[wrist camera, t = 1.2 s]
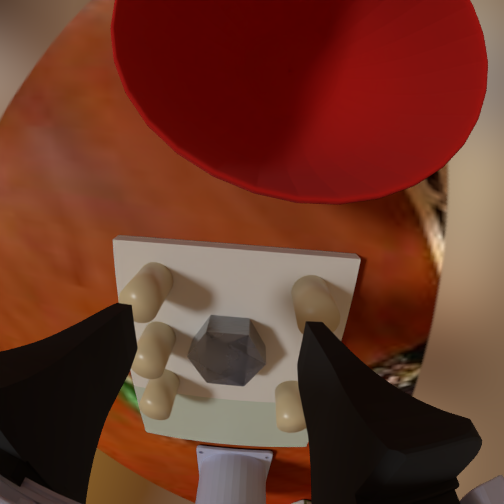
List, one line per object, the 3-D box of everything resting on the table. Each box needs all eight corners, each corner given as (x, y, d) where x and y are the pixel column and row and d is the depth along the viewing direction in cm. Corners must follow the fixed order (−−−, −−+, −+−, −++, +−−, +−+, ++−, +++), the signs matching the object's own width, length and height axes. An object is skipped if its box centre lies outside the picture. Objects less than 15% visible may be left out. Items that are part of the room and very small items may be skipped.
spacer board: (305, 439, 26) (309, 474, 22) (148, 424, 26) (137, 457, 22) (356, 253, 19) (380, 282, 15) (118, 235, 19) (86, 258, 15)
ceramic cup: (389, -26, 12) (452, -93, 3) (376, 190, 18) (472, 234, 8) (207, -53, 12) (178, -141, 3) (171, 165, 18) (86, 187, 8)
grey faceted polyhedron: (273, 358, 21) (274, 376, 19) (218, 376, 22) (215, 394, 20) (240, 302, 20) (239, 318, 18) (182, 325, 20) (176, 342, 18)
